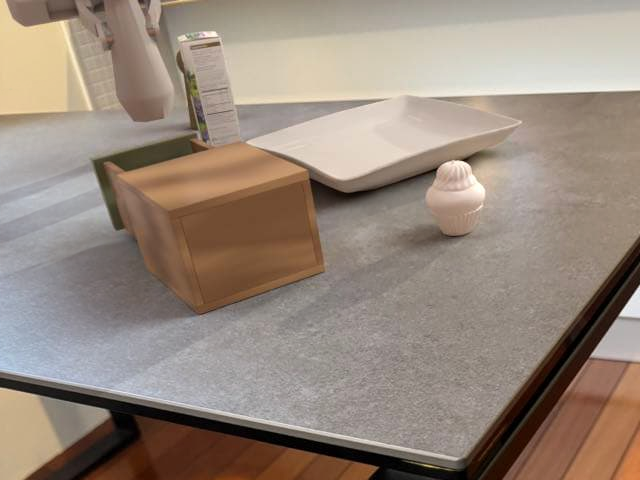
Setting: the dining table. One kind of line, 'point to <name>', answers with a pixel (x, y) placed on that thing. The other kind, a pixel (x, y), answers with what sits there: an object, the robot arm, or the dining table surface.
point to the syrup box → (210, 88)
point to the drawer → (135, 159)
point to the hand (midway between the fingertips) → (131, 41)
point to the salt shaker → (137, 64)
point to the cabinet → (224, 223)
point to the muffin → (455, 198)
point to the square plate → (386, 141)
